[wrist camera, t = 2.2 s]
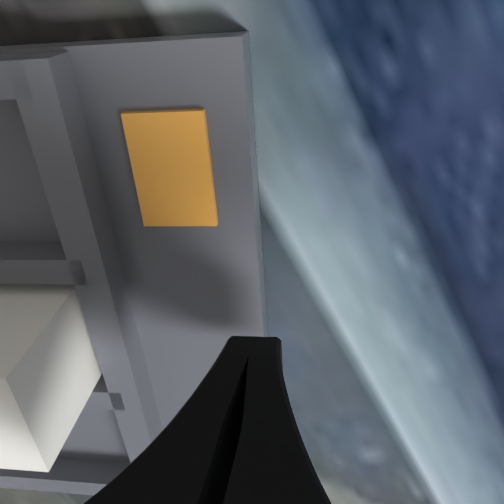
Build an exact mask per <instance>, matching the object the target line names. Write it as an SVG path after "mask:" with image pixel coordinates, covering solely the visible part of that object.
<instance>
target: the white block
mask: <svg viewBox="0 0 504 504" xmlns="http://www.w3.org/2000/svg"><path fill="white" fill-rule="evenodd" d="M101 374H102V371H101V368H100V364H99V361H98V358H97V355H96V352H95V348H94V345H93V342H92V339H91V336H90V333H89V329H88V326H87V323H86V320H85V317H84V313H83V310H82V307H81V304H80V301H79V298H78V294H77V291H76V288H75V285H41V284H0V469H12V470H25V471H38V472H49V471H50V469H51V467H52V465H53V464H54V462H55V460H56V458H57V456H58V454H59V452H60V451H61V449H62V447H63V445H64V443H65V441H66V439H67V438H68V436H69V434H70V432H71V430H72V428H73V426H74V425H75V423H76V421H77V419H78V417H79V415H80V413H81V412H82V410H83V408H84V406H85V404H86V402H87V400H88V399H89V397H90V395H91V393H92V391H93V389H94V387H95V386H96V384H97V382H98V380H99V378H100V376H101Z"/></svg>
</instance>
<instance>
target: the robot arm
mask: <svg viewBox="0 0 504 504" xmlns="http://www.w3.org/2000/svg"><path fill="white" fill-rule="evenodd" d="M84 504H331V502H330V500H329V498H328V496H327V494H326V492H325V490H324V488H323V486H322V484H321V483H320V480H319V478H318V476H317V474H316V472H315V469H314V467H313V465H312V463H311V460H310V458H309V456H308V453H307V451H306V448H305V446H304V443H303V441H302V438H301V435H300V433H299V430H298V427H297V424H296V421H295V418H294V415H293V412H292V408H291V405H290V402H289V398H288V394H287V390H286V386H285V382H284V377H283V369H282V347H281V340H280V339H279V338H277V337H256V336H231V337H230V338H229V339H228V340H227V342H226V344H225V346H224V347H223V349H222V351H221V353H220V354H219V356H218V357H217V359H216V361H215V362H214V364H213V365H212V367H211V368H210V370H209V371H208V373H207V374H206V376H205V377H204V379H203V380H202V381H201V383H200V384H199V386H198V387H197V388H196V390H195V391H194V393H193V394H192V395H191V397H190V398H189V399H188V400H187V402H186V403H185V404H184V405H183V407H182V408H181V409H180V410H179V412H178V413H177V414H176V415H175V417H174V418H173V419H172V420H171V421H170V423H169V424H168V425H167V426H166V427H165V428H164V430H163V431H162V432H161V433H160V434H159V435H158V436H157V437H156V438H155V439H154V440H153V441H152V442H151V444H150V445H149V446H148V447H147V448H146V449H145V450H144V451H143V452H142V453H141V454H140V455H139V456H138V457H137V458H135V459H134V460H133V461H132V462H131V463H130V464H129V465H128V466H127V467H126V468H125V469H124V470H123V471H122V472H121V473H120V474H119V475H117V476H116V477H115V478H114V479H113V480H112V481H111V482H109V483H108V484H107V485H106V486H105V487H103V488H102V489H101V490H100V491H99V492H97V493H96V494H95V495H94V496H92V497H91V498H90V499H89V500H88V501H86V502H85V503H84Z"/></svg>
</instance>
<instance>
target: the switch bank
mask: <svg viewBox="0 0 504 504" xmlns="http://www.w3.org/2000/svg"><path fill="white" fill-rule="evenodd" d="M0 284H41V285H75V288H76V291H77V294H78V298H79V301H80V304H81V307H82V310H83V313H84V317H85V320H86V323H87V326H88V329H89V333H90V336H91V339H92V342H93V345H94V348H95V352H96V355H97V358H98V361H99V364H100V368H101V371H102V374H101V376H100V378H99V380H98V382H97V384H96V386H95V387H94V389H93V391H92V393H91V395H90V397H89V399H88V400H87V402H86V404H85V406H84V408H83V410H82V412H81V413H80V415H79V417H78V419H77V421H76V423H75V425H74V426H73V428H72V430H71V432H70V434H69V436H68V438H67V439H66V441H65V443H64V445H63V447H62V449H61V451H60V452H59V454H58V456H57V458H56V460H55V462H54V464H53V465H52V467H51V469H50V471H49V472H38V471H25V470H12V469H0V488H10V489H22V490H35V491H47V492H59V493H71V494H83V495H95V494H96V493H97V492H99V491H100V490H101V489H102V488H103V487H105V486H106V485H107V484H108V483H109V482H111V481H112V480H113V479H114V478H115V477H116V476H117V475H119V474H120V473H121V472H122V471H123V470H124V469H125V468H126V467H127V466H128V465H129V464H130V463H131V462H132V461H133V460H134V459H135V458H137V457H138V456H139V455H140V454H141V453H142V452H143V451H144V450H145V449H146V448H147V447H148V446H149V445H150V444H151V442H152V441H153V440H154V439H155V438H156V437H157V436H158V435H159V434H160V433H161V432H162V431H163V430H164V428H165V427H166V426H167V425H168V424H169V423H170V421H171V420H172V419H173V418H174V417H175V415H176V414H177V413H178V412H179V410H180V409H181V408H182V407H183V405H184V404H185V403H186V402H187V400H188V399H189V398H190V397H191V395H192V394H193V393H194V391H195V390H196V388H197V387H198V386H199V384H200V383H201V381H202V380H203V379H204V377H205V376H206V374H207V373H208V371H209V370H210V368H211V367H212V365H213V364H214V362H215V361H216V359H217V357H218V356H219V354H220V353H221V351H222V349H223V347H224V346H225V344H226V342H227V340H228V339H229V338H230V337H231V336H256V337H268V329H267V313H266V298H265V282H264V267H263V251H262V236H261V220H260V205H259V189H258V174H257V158H256V143H255V128H254V112H253V97H252V81H251V66H250V50H249V35H248V31H239V32H222V33H206V34H189V35H173V36H156V37H140V38H124V39H107V40H91V41H74V42H58V43H41V44H25V45H8V46H0Z"/></svg>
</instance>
